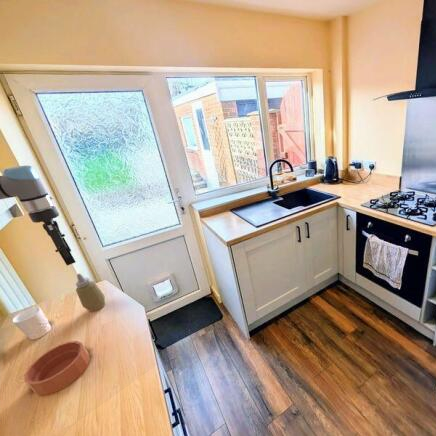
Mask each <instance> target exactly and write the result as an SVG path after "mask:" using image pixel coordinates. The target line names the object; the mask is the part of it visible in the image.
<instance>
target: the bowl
mask: <svg viewBox="0 0 436 436" xmlns="http://www.w3.org/2000/svg"><path fill="white" fill-rule="evenodd" d="M90 360H91V356H90V353H89V351H88V350H87V348H86V347H85V345H84V344H83V342H82V341H78V340H72V341H66V342H63V343H61V344H58V345H57V346H54V347H52V348H51V349H49V350H47V351H46V352H44V353H43V354H42V355H40V356H39V357H38V358H36V360H34V362H33V363H32V364H30V366H29V367H28V368H27V370H26V372H25V374H24V383H26V385H27V386H28V387H29V388H30V389H31V390H32V391H33V393H35V394H36V395H38V396H46V395H47V396H48V395H50V394H54V393H55V392H56V393H57V392H58V391H61V390H62V389H64V388H65V387H67V386H69V385H70V384H71V383H73V382H74V381H75V380H76V379H78V377H80V376H81V375H82V374H83V372H84V371H85V370H86V368H87V367H88V366H89V363H90Z"/></svg>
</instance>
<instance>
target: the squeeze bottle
mask: <svg viewBox="0 0 436 436" xmlns="http://www.w3.org/2000/svg"><path fill="white" fill-rule="evenodd" d="M76 278H77V281H76V283H75V286H76V288H75V291H76V294H77V297H78V299H79V301H80V303H81V306H82V308H84V309H86V310H87V311H89V312H92V313H93V312H97V311H99V310H100V309H102V308H103V307H104V306H105V304H106V298H105V297H106V296H105V294H104V292H103V291H102V290H101V289H100V287H99V286H98V285H97V283H96V282H95V281H93V280H91V279H90V278H89V277H85V276H84V275H82V273H80V272H79V273H77V274H76Z"/></svg>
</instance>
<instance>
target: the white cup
mask: <svg viewBox="0 0 436 436" xmlns="http://www.w3.org/2000/svg"><path fill="white" fill-rule="evenodd" d="M12 323H13V324H14V325H15V326H16V327H17V328H18V329H19V331H20V332H22V333H23V334H24V335H25V336H26V337H27V338H28V339H29V340H37V339H40V338H41V337H43V336H45V335H46V334H48V333H49V332H50V331H51V330H52V326H51V324H50V322H49V320H48V319H47V316H46V315H45V313H44V311H43V310H42V308H41V307H40V306H33V307H29V308H27V309H25V310H23V311H21V312H19V313H18V314H16V315H15V316H14V317H13V319H12Z"/></svg>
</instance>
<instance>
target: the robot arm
mask: <svg viewBox="0 0 436 436" xmlns="http://www.w3.org/2000/svg"><path fill="white" fill-rule="evenodd" d="M16 197H17V198H18V200H19V202H20V204H21V205H22V207H23V209H24V211H25V212H27V215H28V217H29V218H30V220H31V222H33V223H35V224H37V223H43V224H42V228H43V230H44V231H45V232H46V234H47V236H49V237H50V239H51V240H52V243H53V244H54V246H55V248H56V249H55V250H54V251H55V253H59V256H60V257H61V258H62V260H63V261H64V263H65V265H66V266H67V267H68V266H70V265H73V264H75V263H76V260H75V258H74V256H73V255H72V249H71V248H70V246H69V244H68V242H67V241H66V239H65V237H66V235H65V233H62V232H61V230H60V227H59V224H58V222H57V220H54V219H56V218H59V215H60V213H59V211H58V209H57V208H56V206H54V203H53V201H52V200H53V199H54V197H52V196H50V195H49V194H48V192H47V189H46V188H45V186H44V183H43V182H42V180H41V178H40V176H39V174H38V173H37V171H36V170H35V168H34V167H33V166H31V165H19V166H13V167H7V168H4V169H2V175H0V200H5V199H11V198H16Z"/></svg>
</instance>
